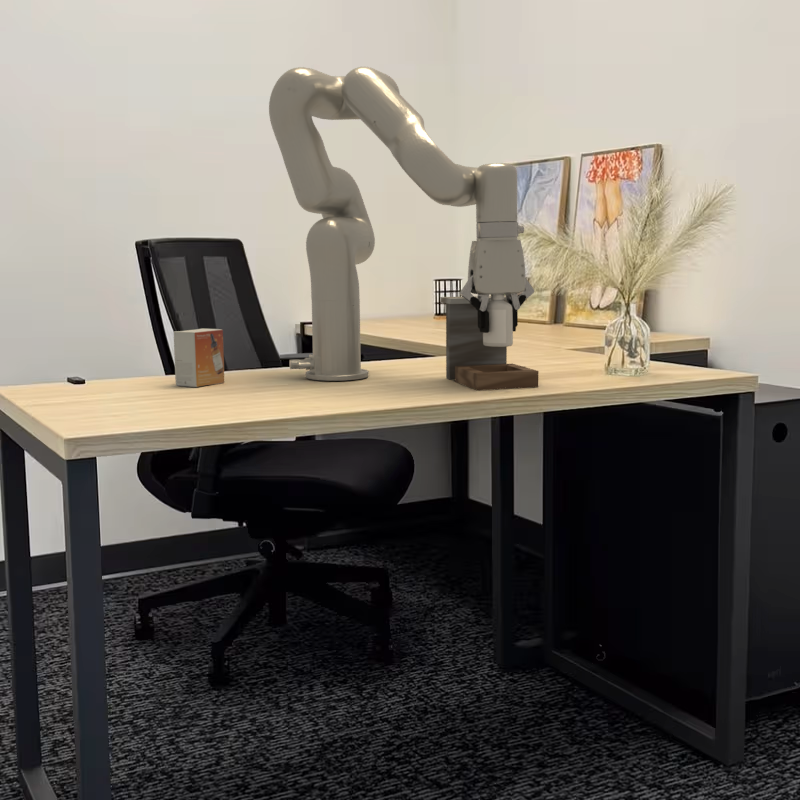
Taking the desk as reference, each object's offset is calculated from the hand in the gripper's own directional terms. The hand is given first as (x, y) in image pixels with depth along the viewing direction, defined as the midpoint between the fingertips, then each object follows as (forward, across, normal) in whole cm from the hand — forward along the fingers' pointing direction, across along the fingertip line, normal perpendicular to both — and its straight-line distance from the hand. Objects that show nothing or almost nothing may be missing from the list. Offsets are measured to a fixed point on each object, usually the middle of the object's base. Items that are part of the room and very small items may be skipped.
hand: (497, 330), depth 181 cm
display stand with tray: (+10, 0, -3) cm, 11 cm away
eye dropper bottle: (+3, 0, 0) cm, 3 cm away
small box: (+10, +53, -20) cm, 58 cm away
